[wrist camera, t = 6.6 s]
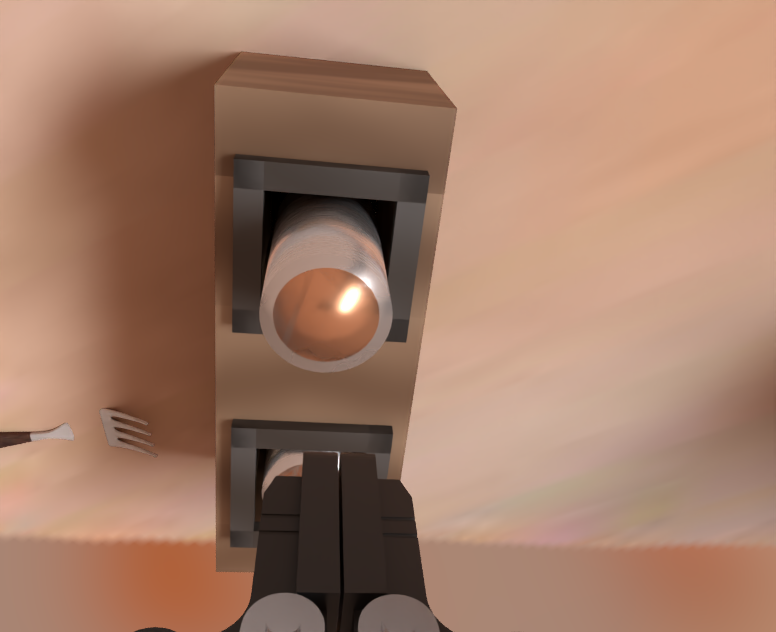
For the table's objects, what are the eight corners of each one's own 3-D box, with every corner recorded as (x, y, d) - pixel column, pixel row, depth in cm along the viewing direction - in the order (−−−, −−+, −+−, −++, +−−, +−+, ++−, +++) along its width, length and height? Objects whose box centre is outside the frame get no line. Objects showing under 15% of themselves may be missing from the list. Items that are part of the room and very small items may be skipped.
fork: (-146, 429, 37) (-170, 453, 35) (155, 398, 38) (147, 420, 36) (-126, 467, 38) (-148, 492, 37) (166, 437, 39) (158, 460, 37)
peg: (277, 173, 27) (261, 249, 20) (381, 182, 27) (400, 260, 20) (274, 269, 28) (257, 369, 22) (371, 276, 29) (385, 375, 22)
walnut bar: (241, 51, 30) (211, 87, 22) (427, 71, 30) (460, 112, 23) (235, 460, 40) (214, 582, 32) (375, 465, 41) (386, 584, 33)
